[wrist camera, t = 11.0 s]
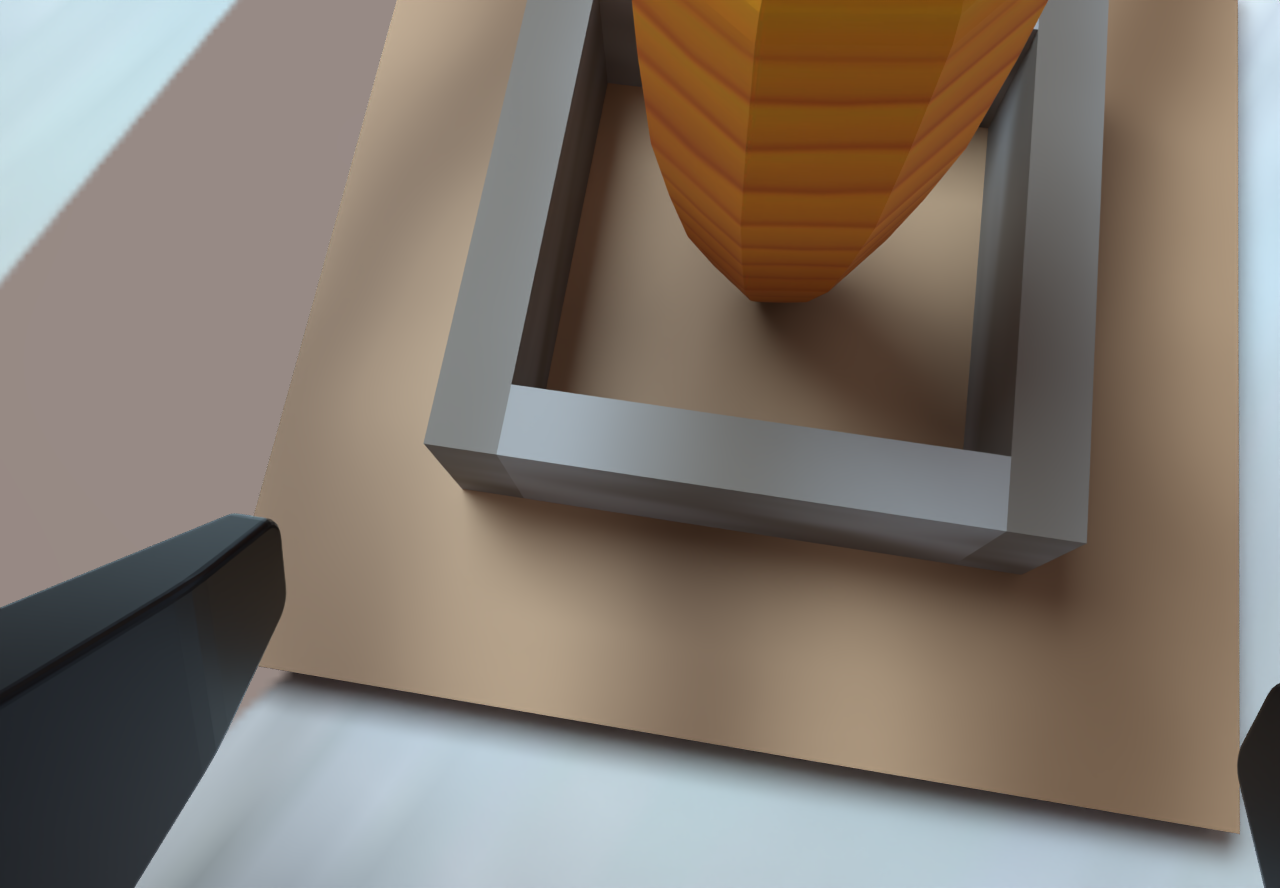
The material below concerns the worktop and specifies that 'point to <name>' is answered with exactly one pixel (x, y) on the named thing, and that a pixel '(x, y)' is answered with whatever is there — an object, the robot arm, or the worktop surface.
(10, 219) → the worktop surface
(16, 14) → the worktop surface
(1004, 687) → the socket base
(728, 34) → the carrot
